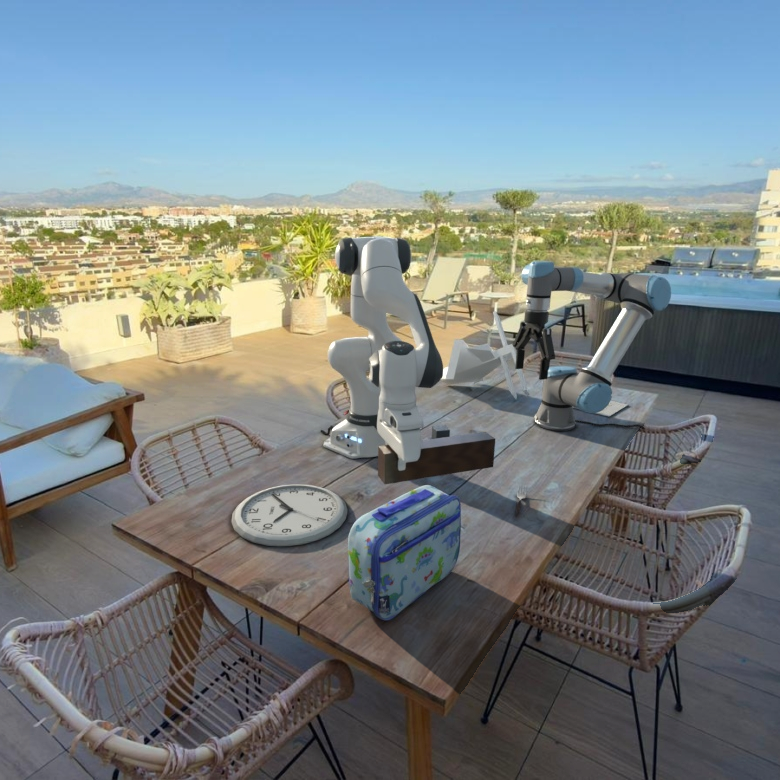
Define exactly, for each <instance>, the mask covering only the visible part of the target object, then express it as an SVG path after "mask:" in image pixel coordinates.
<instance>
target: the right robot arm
mask: <svg viewBox="0 0 780 780" xmlns="http://www.w3.org/2000/svg"><path fill="white" fill-rule="evenodd" d="M520 276H521V281H522V283H523V284H524V285H526V299H525V311H524V317H523V321H520V323H519V329H518V331H517V334H516V336H515V339H514V341H513V343H512V345H513V347H514V348H515V349H516V366H515V365H514V366H515V367H514V369H515V370H517V369H522V370H523V369H524V363H525V354H526V349H525V347H526V346H527V344H528V343H529V342H530V340H534V341H535V343H537V346H538V349H539V352H540V354H541V357H542V358H541V359H540V364H539V375H538V380H541V381H542V380H543V381H542V392H541V402H540V405H539V407H538V410H537V411H536V413H535V414H534V416H533V418H534V424H535V425H536V426H537V427H539V428H542V429H544V430H549V431H556V432H567V431H572V430H574V429H575V428H576V423H577V424H584V425H588V426H589V425H590V426H593V427H619V428H640V429H641V430H646V428H645V426H643V425H641V424H638V423H637V424H636V423H635V424H620V423H612V422H610V423H608V422H606V423H594V422H590V421H584V420H578V419H576V418H575V417H576V416H575V413H574V409H576V408H578V409H577V410H579V411H581V412H583V413H585V412H586V413H588V414H596V413H597V412H600V411H602V410H603V409H605V408H606V407H607V405H608V404H609V403H610V401H612V398H613V396H612V395H613V389H612V388H611V387H612V385H613V381H612V378H611V377H612V376H613V374H614V373H615V371H616V369H617V368H618V366H619V364H621V361H622V359H623V358H624V356H625V355H626V352H627V351H628V349H629V347H630V346H631V344H632V343H633V341H634V339H635V338H636V336H637V334H638V332H639V331H640V330H641V327H642V326H643V325H644V323H645V321H646V320H650V319H652V317H653V316H654V314H655V313H656V312H661V311H663V310H666V308H667V307H668V305H669V303H670V301H671V297H672V288H671V287H672V286H671V284H670V282H669V281H668V280H667V279H666V278H665V277H663V276H657V275H654V274H652V275H648V274H639V273H630V272H626V273H625V272H624V273H620V272H619V273H613V272H611V273H610V272H601V273H593V272H589V271H588V272H587V271H582V269H581V268H580V267H575V266H557V265H555V263H554V262H553V261H550V260H549V261H548V260H534V261H531V262H530V263H528V264H526V265H525V266H524V267H523V269H522V271H521V275H520ZM552 292H571V293H577V294H585V295H592V296H595V298H597V299H600V300H606V301H609V302H612V303H616V304H618V305H620V308H621V311H620V312H619V314H618V315H617V317H616V319H615V321H614V322H613V324H612V325H611V327H610V328H609V331H608V332H607V334H606V336H605V337H604V339H603V341H602V343H601V344H600V346H599V347H598V349H597V350H596V352H595V354H594V356H593V357H592V359H591V360H590V362H589V364H588V365H587V366H584V367H582V368H581V369H580V371H579V372H578V369H577V367H574V366H566V365H565V366H564V365H559V366H558V365H557V366H550V364H551V360H555V359H556V354H555V348H554V342H553V336H552V328H551V327H550V328H546V324H548V323H549V316H550V312H549V310H550V309H551V298H552ZM574 407H575V408H574Z"/></svg>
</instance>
